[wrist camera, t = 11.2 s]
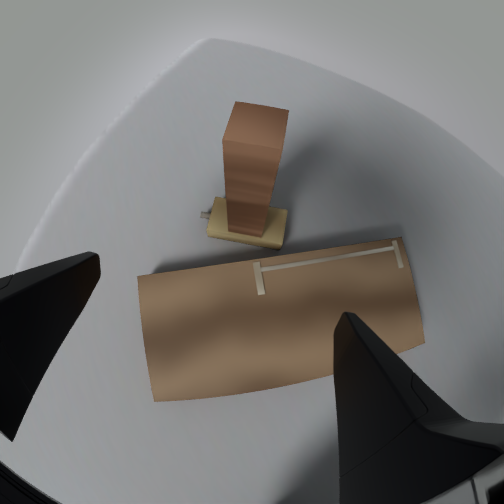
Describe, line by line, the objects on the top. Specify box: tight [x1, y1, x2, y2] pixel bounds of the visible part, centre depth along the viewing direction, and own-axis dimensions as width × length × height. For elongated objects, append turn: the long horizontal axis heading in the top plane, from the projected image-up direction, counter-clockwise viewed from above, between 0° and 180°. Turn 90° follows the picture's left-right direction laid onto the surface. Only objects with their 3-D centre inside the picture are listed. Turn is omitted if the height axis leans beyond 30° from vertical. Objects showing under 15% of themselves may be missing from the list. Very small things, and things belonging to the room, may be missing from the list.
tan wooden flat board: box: [137, 237, 425, 402], centre depth 20 cm, size 10×22×2 cm, turn 99°
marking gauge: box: [200, 101, 289, 250], centre depth 18 cm, size 3×7×12 cm, turn 80°
